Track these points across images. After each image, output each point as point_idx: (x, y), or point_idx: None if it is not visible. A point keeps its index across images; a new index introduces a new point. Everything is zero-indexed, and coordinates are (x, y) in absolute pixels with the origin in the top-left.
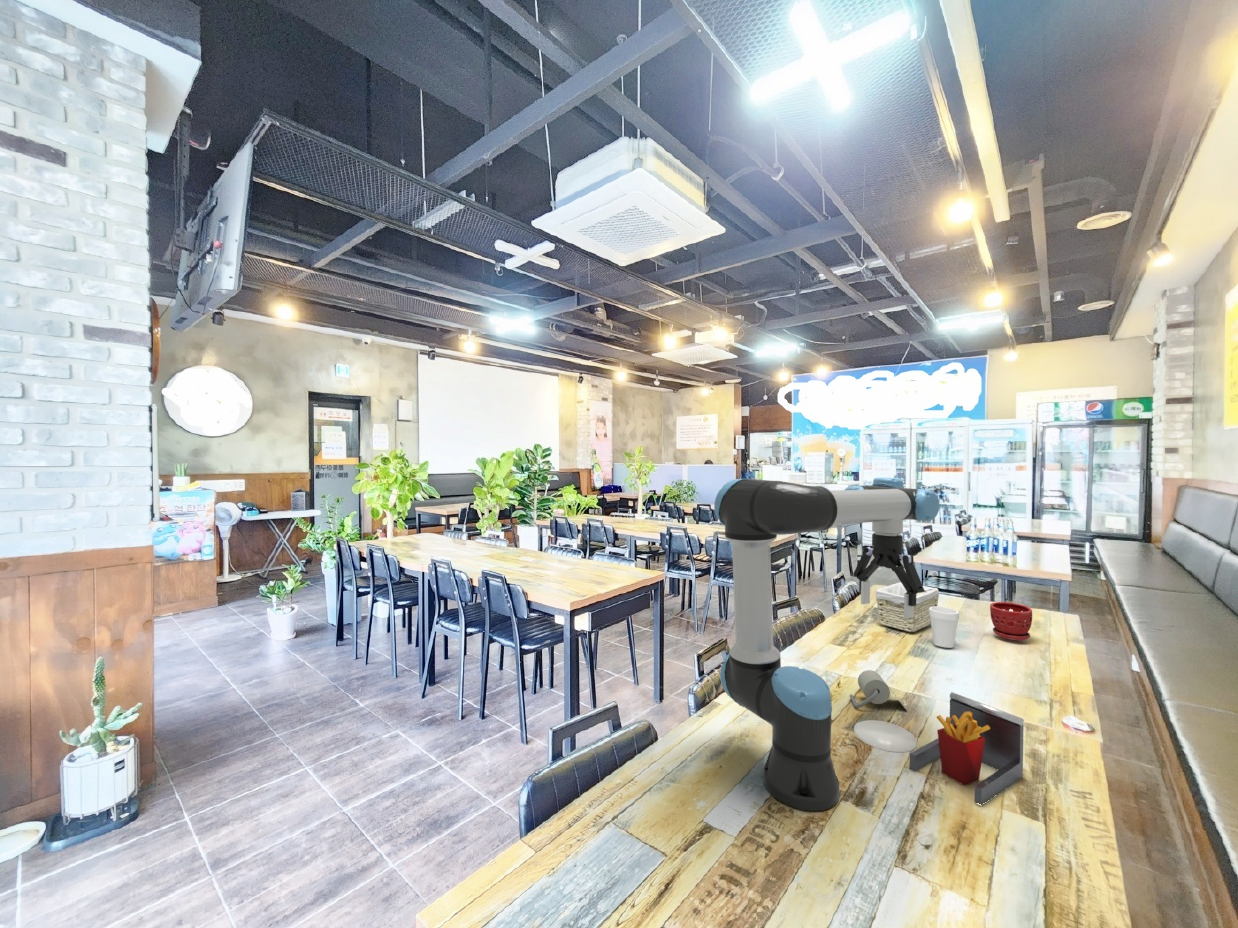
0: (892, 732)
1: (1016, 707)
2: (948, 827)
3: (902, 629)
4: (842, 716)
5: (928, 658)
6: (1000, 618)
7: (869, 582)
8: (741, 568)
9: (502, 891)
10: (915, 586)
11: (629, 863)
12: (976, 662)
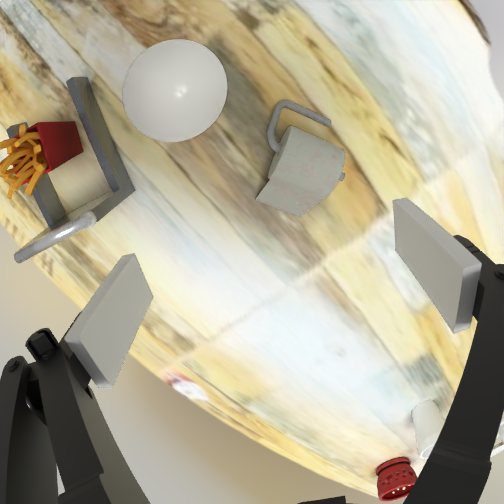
0: (176, 109)
1: (236, 368)
2: (6, 69)
3: None
4: (262, 56)
5: (406, 369)
6: (400, 476)
7: (449, 320)
8: None
9: None
10: (2, 385)
11: None
12: (365, 411)
